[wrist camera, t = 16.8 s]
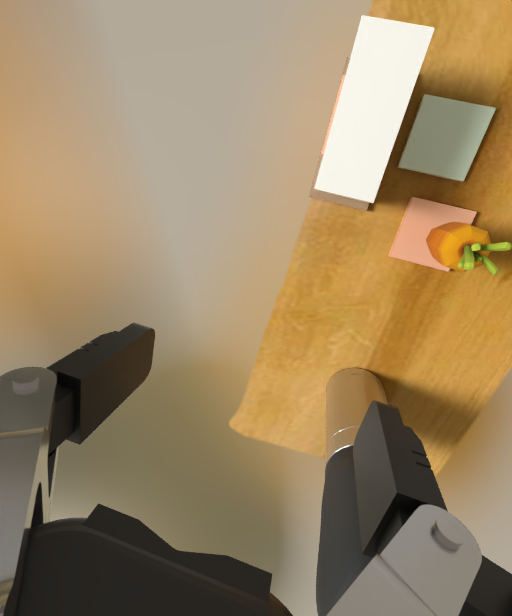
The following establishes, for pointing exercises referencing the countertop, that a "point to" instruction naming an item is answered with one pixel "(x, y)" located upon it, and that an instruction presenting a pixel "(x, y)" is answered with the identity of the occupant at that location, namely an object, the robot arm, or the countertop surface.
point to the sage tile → (445, 137)
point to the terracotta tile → (424, 229)
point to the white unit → (369, 110)
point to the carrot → (463, 246)
